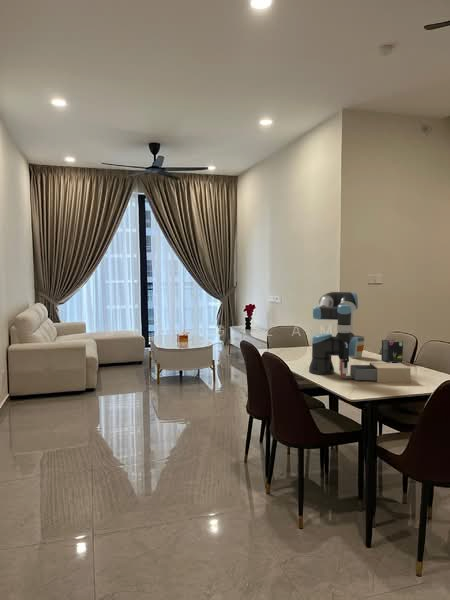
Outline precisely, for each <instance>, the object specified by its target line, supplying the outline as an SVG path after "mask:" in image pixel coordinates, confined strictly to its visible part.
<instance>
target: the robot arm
mask: <svg viewBox="0 0 450 600" xmlns="http://www.w3.org/2000/svg"><path fill="white" fill-rule="evenodd" d="M358 299H359V298H358V294H357V293H356V292H354V291H330V292H327V293H325V294H323V295H322V296H320V298H319V300H318V306H314V307H313V309H312V318H313V319H314V320H319V321H320V320H322V321H323V320H327V321H328V320H329V321H331V320H333V321H337V323H336V326H337V327H336V328H337V329H336V330H337V331H336V332H337V333H336V334H335V336H333V335H332V334H331V333H319V334H315V335H314V336H312V340H311V361H310V363H309V366H308V367H309V368H308V371H309V373H311V374H314V375H332V374H334V373H335V368H334V364H333V362H332V361H333V360H332V356H335V357H337V356H338V358H339V363H338V364H339V369H338V370H339V372H340V370H341V360H343V361H342V362H343V374H346V375H348V369H349V362H350V357H349V356H355V355H356V351H357V344H358V338H357V337H355V336H356V335H355V334H354V313H355V311H356V310H358V308H359V300H358Z"/></svg>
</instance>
